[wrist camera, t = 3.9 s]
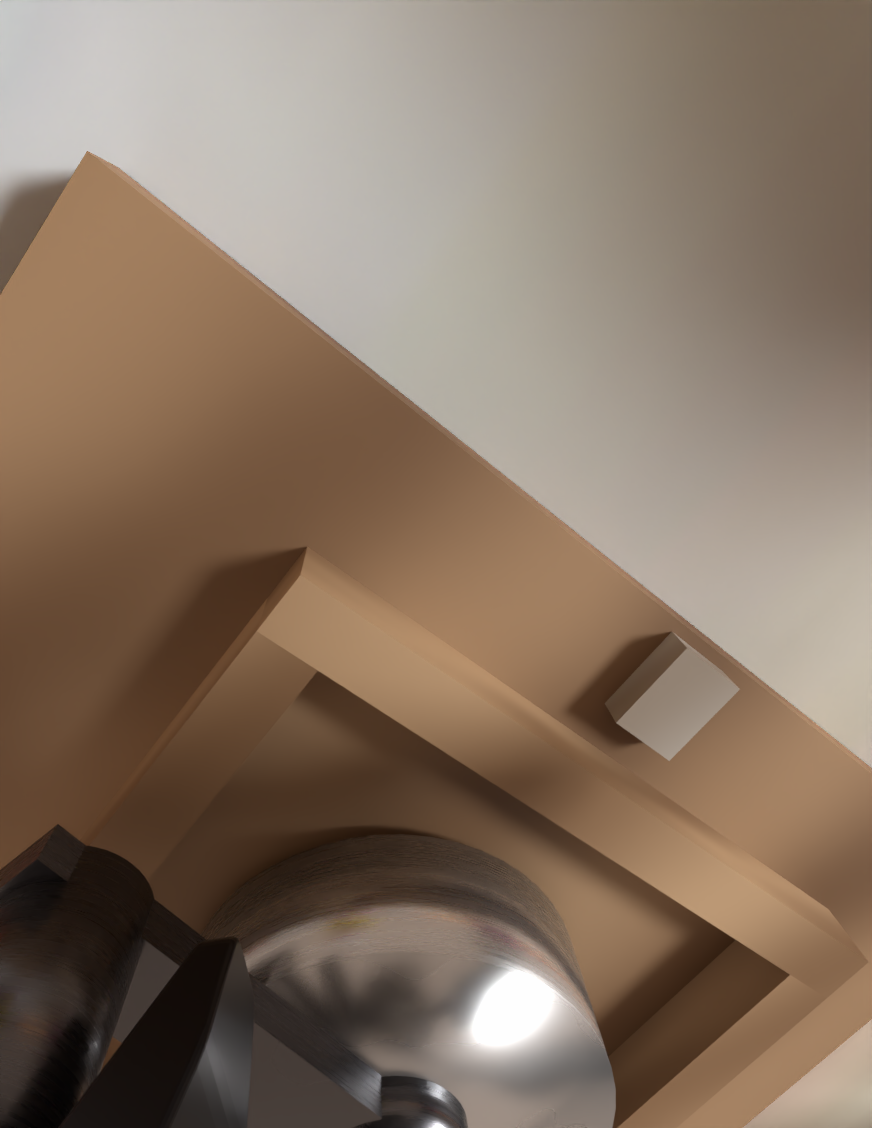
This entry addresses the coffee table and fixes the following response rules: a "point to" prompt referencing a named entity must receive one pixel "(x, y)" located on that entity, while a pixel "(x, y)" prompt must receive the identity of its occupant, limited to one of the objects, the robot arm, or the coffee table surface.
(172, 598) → the board
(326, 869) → the crank wheel
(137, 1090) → the robot arm
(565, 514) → the coffee table surface
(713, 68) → the coffee table surface
